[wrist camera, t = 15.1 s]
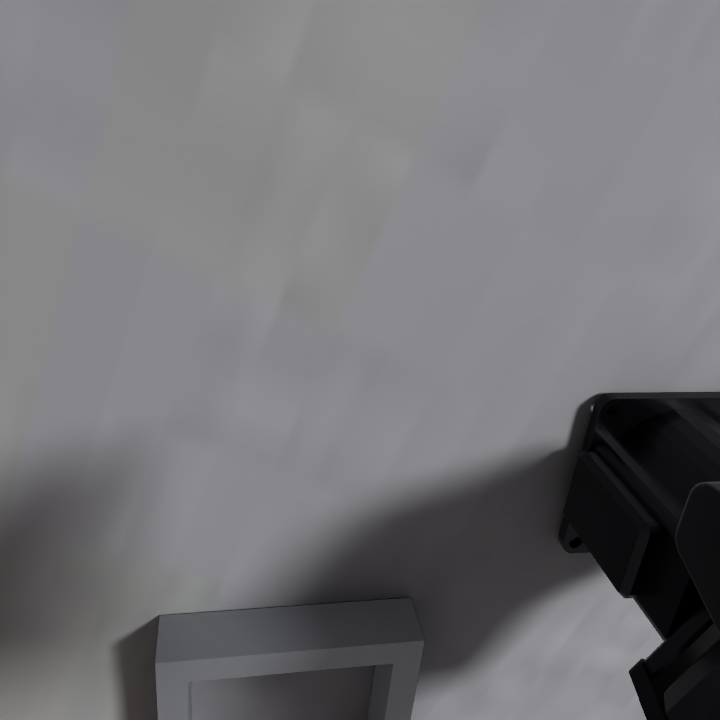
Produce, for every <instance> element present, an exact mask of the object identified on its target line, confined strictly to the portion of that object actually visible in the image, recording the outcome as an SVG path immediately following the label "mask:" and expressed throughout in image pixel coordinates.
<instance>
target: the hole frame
mask: <svg viewBox="0 0 720 720" xmlns="http://www.w3.org/2000/svg"><path fill="white" fill-rule="evenodd" d="M424 642H425V640H424V637H423V634H422V631H421V628H420V625H419V622H418V619H417V616H416V613H415V610H414V607H413V604H412V601H411V598H400V599H386V600H372V601H357V602H343V603H329V604H315V605H301V606H287V607H273V608H259V609H245V610H231V611H216V612H202V613H188V614H174V615H160V617H159V627H158V638H157V649H156V659H155V671H156V691H157V711H158V720H191V682H195V681H206V680H217V679H228V678H240V677H251V676H262V675H273V674H284V673H295V672H306V671H317V670H328V669H339V668H350V667H361V666H372V665H375V669H374V676H373V683H372V690H371V697H370V704H369V711H368V718H367V720H410V719H411V713H412V708H413V702H414V697H415V691H416V686H417V680H418V675H419V670H420V664H421V659H422V653H423V648H424Z"/></svg>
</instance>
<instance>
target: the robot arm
mask: <svg viewBox="0 0 720 720" xmlns="http://www.w3.org/2000/svg"><path fill="white" fill-rule="evenodd" d="M614 405H615V406H614ZM611 406H614V408H613V409H612V410H611V411H610V412H607V410H608V409H609V408H610V407H611ZM573 538H575V539H573ZM572 539H573V540H572ZM558 540H559V542H560V544H561V546H562V547H563V549H564V550H565V551H566V552H568V553H585V552H591V554H592V555H593V557H594V558H595V560H596V561H597V563H598V564H599V565H600V567H601V568H602V570H603V571H604V573H605V574H606V575H607V577H608V578H609V580H610V581H611V583H612V584H613V585H614V587H615V588H616V590H617V591H618V592H619V593H620V594H621V595H622V596H623V597H624V598H634V600H635V601H636V603H637V604H638V605H639V607H640V608H641V610H642V611H643V612H644V614H645V615H646V617H647V618H648V619H649V621H650V622H651V624H652V625H653V626H654V628H655V629H656V631H657V632H658V633H659V635H660V636H661V638H662V639H663V640H664V642H663V643H662V644H661V645H660V646H659V647H658V648H657V649H656V650H655V651H654V652H653V653H652V654H651V655H650V656H648V657H647V658H646V659H641V660H640V661H639V662H637V663H636V664H635V665H634V666H633V667H632V668H631V669H630V670H629V674H630V677H631V679H632V682H633V684H634V687H635V689H636V692H637V695H638V697H639V701H640V703H641V706H642V709H643V711H644V714H645V716H646V719H647V720H720V392H662V393H608V394H605V395H603V396H601V397H600V398H599V399H598V400H597V401H596V403H595V405H594V408H593V412H592V415H591V419H590V422H589V426H588V430H587V433H586V437H585V441H584V444H583V448H582V452H581V454H580V456H579V457H578V460H577V464H576V468H575V471H574V475H573V479H572V482H571V486H570V490H569V493H568V497H567V501H566V504H565V508H564V518H563V521H562V525H561V529H560V532H559V536H558Z"/></svg>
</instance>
